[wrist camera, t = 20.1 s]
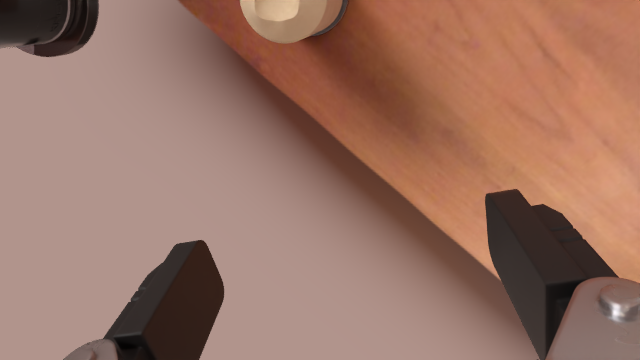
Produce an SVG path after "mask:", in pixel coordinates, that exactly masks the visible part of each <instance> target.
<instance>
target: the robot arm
mask: <svg viewBox="0 0 640 360" xmlns="http://www.w3.org/2000/svg"><path fill="white" fill-rule="evenodd" d="M74 12H75V0H0V48H6V47H15V46H19V47H23V46H22V45H29V46H33V45H30V44H39V45H41V44H46V43H52V42H55V41H57V40H59V39H60V38H62V37H63V36H64V35H65V34H66V33H67V31H68V30H69V28H70V26H71V24H72V21H73V18H74ZM485 205H486V219H487V233H488V245H489V251H490V255H491V258H492V262H493V264H494V267H495V269H496V271H497V273H498V275H499V277H500V279H501V281H502V283H503V285H504V287H505V289H506V291H507V293H508V295H509V297H510V299H511V301H512V303H513V305H514V307H515V309H516V311H517V313H518V315H519V317H520V319H521V322H522V324H523V326H524V328H525V329H526V331H527V333H528V336H529V338H530V340H531V341H532V344H533V346H534V348H535V350H536V352H537V354H538V356H539V358H540V360H640V283H637V282H635V281H631V280H628V279H623V278H619V277H618V276H617V275H616V274H615V273H614V272H613V270H612V269H611V268H610V267H609V266H608V265H607V264H606V263H605V261H604V260H603V259H602V258H601V257H600V256H599V255H598V254H597V253H596V251H595V250H594V249H593V248H592V247H591V246H590V245H589V244H588V242H587V241H586V240H585V239H584V240H583V238H582V236H581V235H580V233H579V232H578V231H577V230H576V229H573V226H572V225H571V223H570V222H569V221H568V220H567V219H566V218H565V217H564V216H563V214H562V213H560V212H558V211H556V210H554V209H552V208H550V207H548V206H546V205H544V204H541V205H534V206H531V205H530V204H529V203H528V202H527V200H526V199H525V198H524V197H523V195H522V194H521V193H520V192H519V190H517V189H513V190H507V191H501V192H495V193H488V194H486V197H485ZM223 298H224V286H223V282H222V279H221V276H220V274H219V272H218V269H217V267H216V265H215V262H214V260H213V258H212V255H211V253H210V251H209V248H208V246H207V244H206V243H205V242H204V241H202V240H198V241H192V242H185V243H179V244H176V245H175V246H174V247H173V249H172V250H171V252H170V253H169V255H168V256H167V258H166V259H165V261H164V262H163V263H161V264H160V265H159V266H158V267H157V268H155V269H154V270H153V271H152V272H151V273H150V274H149V275H147V277H146V278H145V280H144V281H143V283H142V284H141V285H140V287H139V288H138V291H136V292H135V294H134V295H133V297H132V298H131V302H128V304H127V305H126V307H125V308H124V310H123V311H122V312H121V314H120V315H119V317H118V318H117V319H116V321H115V322H114V324H113V325H112V327H111V328H110V329H109V331H108V332H107V334H106V335H105V337H104V338H103V339H99V340H96V341H92V342H89V343H87V344H85V345H83V346H81V347H79V348H77V349H76V350H74V351H73V352H72V353H70V354H69V355H68V356H67V357H66V358H64V359H63V360H199V358H200V356H201V354H202V351H203V348H204V346H205V344H206V341H207V339H208V336H209V334H210V331H211V329H212V327H213V324H214V322H215V319H216V317H217V314H218V312H219V310H220V307H221V305H222V302H223Z"/></svg>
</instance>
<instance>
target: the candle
mask: <svg viewBox="0 0 640 360" xmlns="http://www.w3.org/2000/svg"><path fill="white" fill-rule="evenodd" d="M342 1H343V0H240V5H241V8H242V11H243V14H244V16H245V18H246V20H247V21H248V23H249V24H250V26H251V27H252V28H253V29H254V30H255V31H256V32H257V33H258V34H259V35H261V36H262V37H264V38H266V39H268V40H270V41H273V42H277V43H293V42H297V41H299V40H302V39H304V38H306V37H308V36H311V35H313V34H315V33H317V32H319V31H322V30H323V29H325V28H327V27H328V26H329V25H330V24H331V23H332V22H333V21H334V20H335V19H336V17H337V16H338V14H339V12H340V9H341V6H342Z"/></svg>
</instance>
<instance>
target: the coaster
mask: <svg viewBox="0 0 640 360" xmlns="http://www.w3.org/2000/svg"><path fill="white" fill-rule="evenodd" d="M347 5H348V0H343V1H342V6H341V9H340V12H339V14H338V16H337V17H336V19H335V20H334V21H333V22H332V23H331V24H330V25H329V26H328V27H327V28H325V29H323V30H322V31H319V32H317V33H315V34H313V35H311V36H317V35H321V34H323V33H325V32H327V31H329V30H331V29H332V28H333V27H335V26H336V25H337V24H338V22H339V21H340V20H341V18H342V17H343V15H344V13H345V11H346V8H347Z"/></svg>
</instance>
